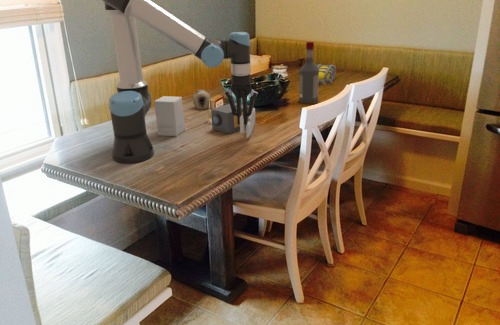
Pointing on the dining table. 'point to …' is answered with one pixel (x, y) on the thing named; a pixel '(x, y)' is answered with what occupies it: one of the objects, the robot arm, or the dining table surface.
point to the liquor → (309, 78)
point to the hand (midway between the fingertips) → (242, 132)
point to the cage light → (326, 74)
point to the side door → (250, 124)
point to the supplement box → (169, 115)
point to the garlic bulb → (201, 99)
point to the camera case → (226, 119)
